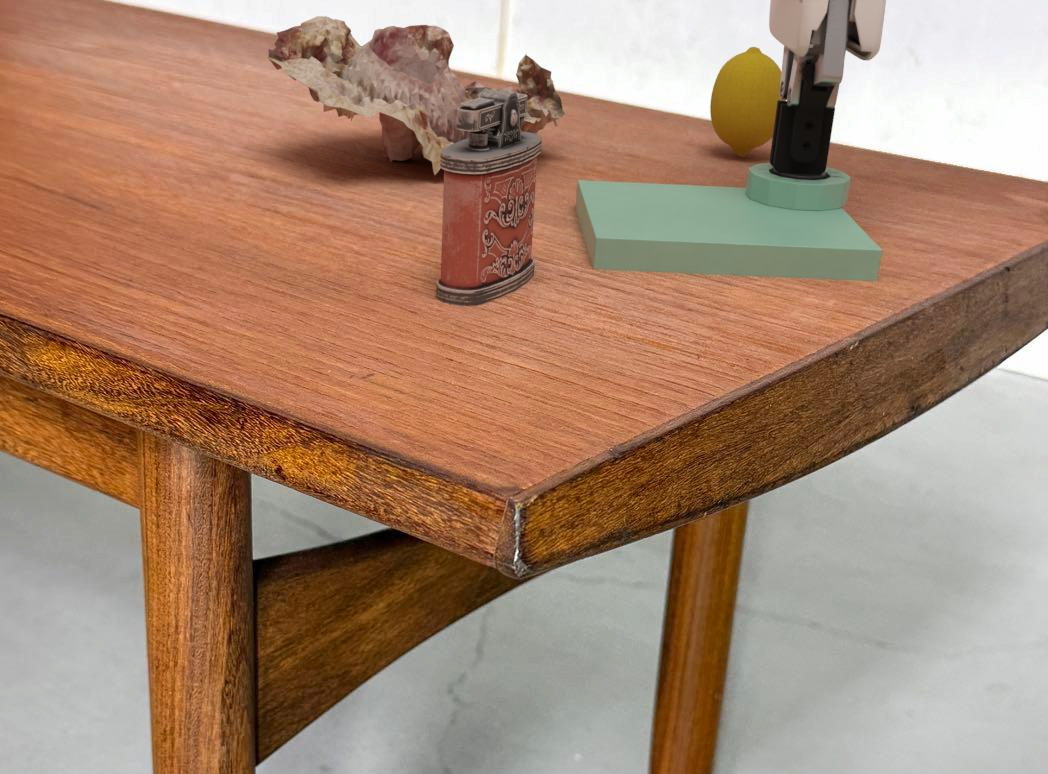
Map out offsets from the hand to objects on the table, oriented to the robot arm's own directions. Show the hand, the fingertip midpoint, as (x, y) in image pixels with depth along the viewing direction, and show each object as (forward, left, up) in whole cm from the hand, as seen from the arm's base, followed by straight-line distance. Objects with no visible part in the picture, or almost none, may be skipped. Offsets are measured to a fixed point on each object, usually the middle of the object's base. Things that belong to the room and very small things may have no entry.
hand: (796, 169), depth 92 cm
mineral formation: (+23, -15, -4) cm, 28 cm away
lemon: (-1, -22, -4) cm, 22 cm away
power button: (0, 0, -2) cm, 2 cm away
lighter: (+19, +15, -4) cm, 25 cm away
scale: (+5, +4, -4) cm, 8 cm away
